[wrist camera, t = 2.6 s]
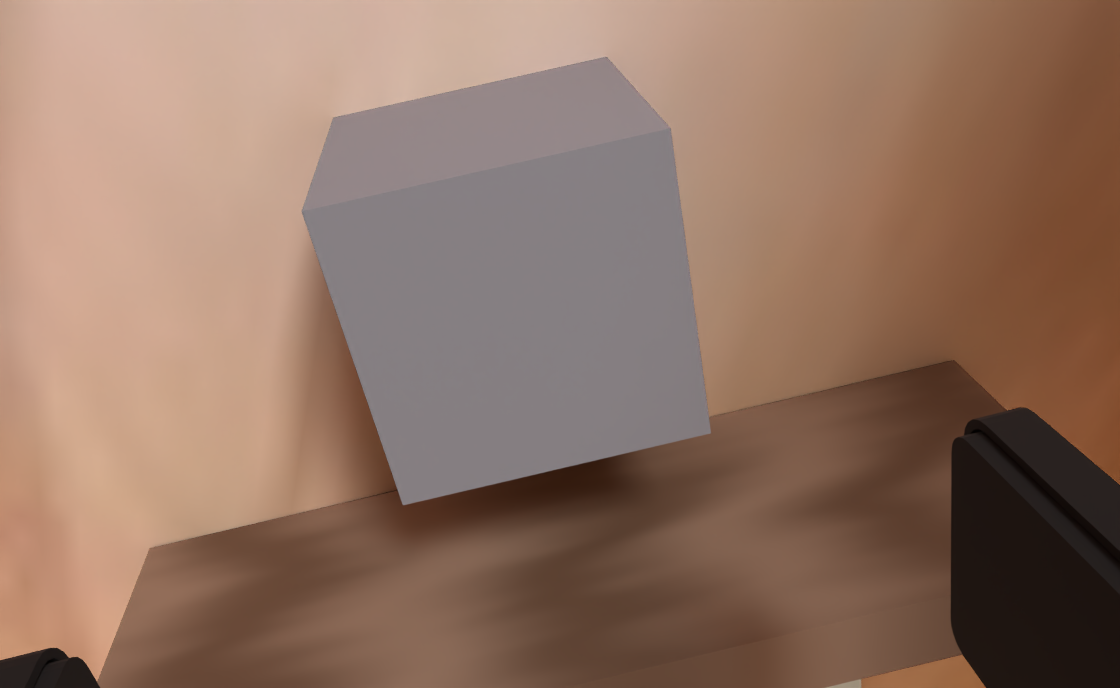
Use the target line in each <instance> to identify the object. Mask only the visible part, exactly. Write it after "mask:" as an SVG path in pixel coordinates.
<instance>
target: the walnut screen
mask: <svg viewBox="0 0 1120 688" xmlns="http://www.w3.org/2000/svg"><path fill="white" fill-rule="evenodd" d="M1004 411H1007V410H1006V409H1004V408H1003V407H1002V406H1001V405H1000V404H999V403H998V402H997V401H996V400H995V399H994V398H993V397H992V396H991V395H990V394H989V393H988V392H987V391H986V390H985V389H984V388H983V387H981V386H980V385H979V384H978V383H977V382H976V381H975V380H974V379H973V378H972V377H971V376H970V375H969V374H968V373H967V372H966V371H965V370H964V369H963V368H962V367H961V366H959V365H958V364H957V363H956V362H955V361H954V360H953V361H949V362H944V363H940V364H936V365H932V366H927V367H923V368H919V369H914V370H910V371H906V372H902V373H897V374H893V375H889V376H885V377H880V378H876V379H872V380H867V381H863V382H859V383H855V384H850V385H846V386H842V387H838V388H833V389H829V390H825V391H820V392H816V393H812V394H808V395H803V396H799V397H795V398H791V399H786V400H782V401H778V402H773V403H769V404H765V405H761V406H756V407H752V408H748V409H743V410H739V411H735V412H731V413H726V414H722V415H718V416H714V417H709V422H710V429H711V433H710V434H706V435H702V436H697V437H693V438H689V439H685V440H680V441H676V442H672V443H668V444H663V445H659V446H655V447H650V448H646V449H642V450H638V451H633V452H629V453H625V454H620V455H616V456H612V457H608V458H603V459H599V460H595V461H591V462H586V463H582V464H578V465H573V466H569V467H565V468H561V469H556V470H552V471H548V472H544V473H539V474H535V475H531V476H526V477H522V478H518V479H514V480H509V481H505V482H501V483H496V484H492V485H488V486H484V487H479V488H475V489H471V490H467V491H462V492H458V493H454V494H449V495H445V496H441V497H437V498H432V499H428V500H424V501H420V502H415V503H411V504H407V505H403V504H402V501H401V498H400V495H399V492H398V490H397V491H393V492H389V493H384V494H380V495H376V496H372V497H367V498H363V499H359V500H354V501H350V502H346V503H342V504H337V505H333V506H329V507H325V508H320V509H316V510H312V511H307V512H303V513H299V514H295V515H290V516H286V517H282V518H278V519H273V520H269V521H265V522H260V523H256V524H252V525H248V526H243V527H239V528H235V529H230V530H226V531H222V532H218V533H213V534H209V535H205V536H201V537H196V538H192V539H188V540H183V541H179V542H175V543H171V544H166V545H162V546H158V547H154V548H150V549H149V552H148V554H147V557H146V559H145V562H144V564H143V567H142V570H141V572H140V575H139V577H138V580H137V582H136V585H135V587H134V590H133V592H132V595H131V597H130V600H129V603H128V605H127V608H126V610H125V613H124V615H123V618H122V620H121V623H120V625H119V628H118V631H117V633H116V636H115V638H114V641H113V643H112V646H111V648H110V651H109V653H108V656H107V659H106V661H105V664H104V666H103V669H102V671H101V674H100V676H99V679H98V681H97V683H98V685H99V686H100V688H826V687H830V686H834V685H838V684H842V683H847V682H851V681H855V680H859V679H863V678H867V677H871V676H876V675H880V674H884V673H888V672H892V671H896V670H900V669H904V668H909V667H913V666H917V665H921V664H925V663H929V662H933V661H937V660H942V659H946V658H950V657H954V656H958V655H962V653H961V651H960V649H959V647H958V645H957V643H956V640H955V637H954V635H953V631H952V627H951V451H952V443H953V441H954V439H955V438H957V437H960V436H964V431H965V427H966V425H967V423H968V422H969V421H971V420H972V419H976V418H980V417H984V416H988V415H992V414H996V413H1000V412H1004Z"/></svg>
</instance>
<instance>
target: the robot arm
mask: <svg viewBox="0 0 1120 688" xmlns="http://www.w3.org/2000/svg"><path fill="white" fill-rule="evenodd" d="M951 627H952V631H953V635H954V637H955V640H956V643H957V645H958V647H959V649H960V651H961V653H962V654H963V656H964V657H965V659H966V660H967V662H968V663H969V664H970V666H971V667H972V669H973V670H974V671H975V673H976V674H977V676H978V677H979V678H980V680H981V681H982V682H983V684H984V685H985V687H986V688H1120V485H1119V484H1118V483H1117V482H1115V481H1114V480H1113V479H1112V478H1111V477H1110V476H1108V475H1107V474H1106V473H1105V472H1104V471H1103V470H1101V469H1100V468H1099V467H1098V466H1097V465H1095V464H1094V463H1093V462H1092V461H1091V460H1090V459H1088V458H1087V457H1086V456H1085V455H1084V454H1083V453H1081V452H1080V451H1079V450H1078V449H1077V448H1075V447H1074V446H1073V445H1072V444H1071V443H1070V442H1068V441H1067V440H1066V439H1065V438H1064V437H1062V436H1061V435H1060V434H1059V433H1058V432H1057V431H1055V430H1054V429H1053V428H1052V427H1051V426H1050V425H1048V424H1047V423H1046V422H1045V421H1044V420H1042V419H1041V418H1040V417H1039V416H1038V415H1037V414H1035V413H1034V412H1032V411H1031V410H1029V409H1028V408H1021V407H1020V408H1016V409H1012V410H1008V411H1004V412H1000V413H996V414H992V415H988V416H984V417H980V418H976V419H972V420H971V421H969V422H968V423H967V425H966V427H965V431H964V436H960V437H957V438H955V439H954V441H953V443H952V451H951ZM0 688H100V686H99V685H98V683H97V681H96V680H95V678H94V676H93V675H92V673H91V671H90V670H89V668H88V666H87V665H86V664H85V662H84V661H83V660H82V659H80V658H78V657H72V658H68V656H67V655H66V654H65V653H64V652H63V651H61V650H60V649H58V648H48V649H44V650H40V651H36V652H32V653H28V654H24V655H20V656H16V657H12V658H8V659H4V660H0Z"/></svg>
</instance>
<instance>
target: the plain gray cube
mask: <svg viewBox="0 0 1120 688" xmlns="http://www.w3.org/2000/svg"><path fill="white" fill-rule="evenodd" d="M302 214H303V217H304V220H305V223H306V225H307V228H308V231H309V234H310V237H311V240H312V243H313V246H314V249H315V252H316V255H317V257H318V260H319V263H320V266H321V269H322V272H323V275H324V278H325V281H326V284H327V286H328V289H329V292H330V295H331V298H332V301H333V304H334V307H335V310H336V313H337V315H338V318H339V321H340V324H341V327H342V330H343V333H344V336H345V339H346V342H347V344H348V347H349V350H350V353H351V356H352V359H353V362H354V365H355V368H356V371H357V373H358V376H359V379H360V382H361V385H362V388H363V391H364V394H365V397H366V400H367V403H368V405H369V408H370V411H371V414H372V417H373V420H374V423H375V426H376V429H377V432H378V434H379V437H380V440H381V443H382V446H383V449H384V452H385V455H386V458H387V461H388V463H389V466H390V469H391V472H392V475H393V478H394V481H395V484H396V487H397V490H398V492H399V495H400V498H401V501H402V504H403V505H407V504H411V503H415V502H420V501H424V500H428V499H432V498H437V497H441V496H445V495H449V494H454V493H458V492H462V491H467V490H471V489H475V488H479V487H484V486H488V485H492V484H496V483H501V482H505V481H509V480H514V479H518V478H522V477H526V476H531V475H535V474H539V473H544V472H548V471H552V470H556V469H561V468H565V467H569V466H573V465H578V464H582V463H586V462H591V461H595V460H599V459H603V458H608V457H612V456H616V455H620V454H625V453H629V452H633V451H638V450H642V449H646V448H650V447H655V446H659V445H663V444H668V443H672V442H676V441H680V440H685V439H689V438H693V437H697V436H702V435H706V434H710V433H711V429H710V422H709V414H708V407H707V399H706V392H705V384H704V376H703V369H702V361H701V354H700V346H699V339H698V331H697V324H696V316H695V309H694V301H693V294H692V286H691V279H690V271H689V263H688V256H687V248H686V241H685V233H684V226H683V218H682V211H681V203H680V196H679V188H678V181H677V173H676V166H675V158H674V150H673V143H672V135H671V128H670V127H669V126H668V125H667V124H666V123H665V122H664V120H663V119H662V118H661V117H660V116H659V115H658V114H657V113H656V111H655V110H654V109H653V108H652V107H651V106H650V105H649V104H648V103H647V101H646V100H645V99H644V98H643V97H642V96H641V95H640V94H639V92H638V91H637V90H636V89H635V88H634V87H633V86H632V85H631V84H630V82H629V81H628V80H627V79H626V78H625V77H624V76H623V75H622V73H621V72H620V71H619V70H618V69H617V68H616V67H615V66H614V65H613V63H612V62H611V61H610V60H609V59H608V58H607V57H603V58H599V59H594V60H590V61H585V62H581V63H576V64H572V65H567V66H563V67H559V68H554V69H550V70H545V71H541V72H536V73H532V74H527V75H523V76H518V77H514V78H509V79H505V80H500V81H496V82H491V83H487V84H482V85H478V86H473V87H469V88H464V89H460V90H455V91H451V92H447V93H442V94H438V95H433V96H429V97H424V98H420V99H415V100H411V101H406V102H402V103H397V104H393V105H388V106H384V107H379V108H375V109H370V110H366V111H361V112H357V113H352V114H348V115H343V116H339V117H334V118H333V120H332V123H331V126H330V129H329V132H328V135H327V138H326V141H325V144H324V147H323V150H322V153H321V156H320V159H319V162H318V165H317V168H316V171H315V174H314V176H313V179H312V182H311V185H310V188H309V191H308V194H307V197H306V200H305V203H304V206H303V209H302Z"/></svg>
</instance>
